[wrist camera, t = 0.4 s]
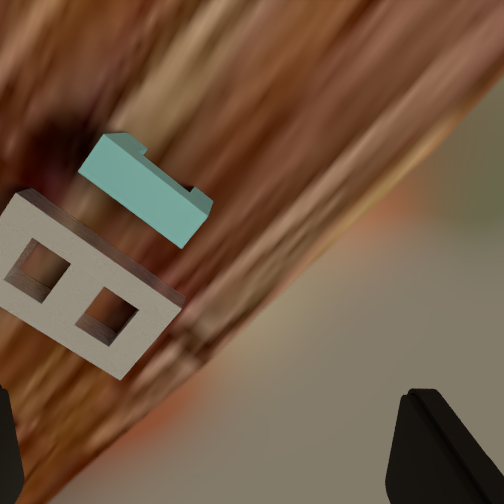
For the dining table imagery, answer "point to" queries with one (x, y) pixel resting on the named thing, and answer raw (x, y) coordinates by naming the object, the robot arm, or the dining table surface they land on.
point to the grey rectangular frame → (79, 285)
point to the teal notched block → (145, 187)
